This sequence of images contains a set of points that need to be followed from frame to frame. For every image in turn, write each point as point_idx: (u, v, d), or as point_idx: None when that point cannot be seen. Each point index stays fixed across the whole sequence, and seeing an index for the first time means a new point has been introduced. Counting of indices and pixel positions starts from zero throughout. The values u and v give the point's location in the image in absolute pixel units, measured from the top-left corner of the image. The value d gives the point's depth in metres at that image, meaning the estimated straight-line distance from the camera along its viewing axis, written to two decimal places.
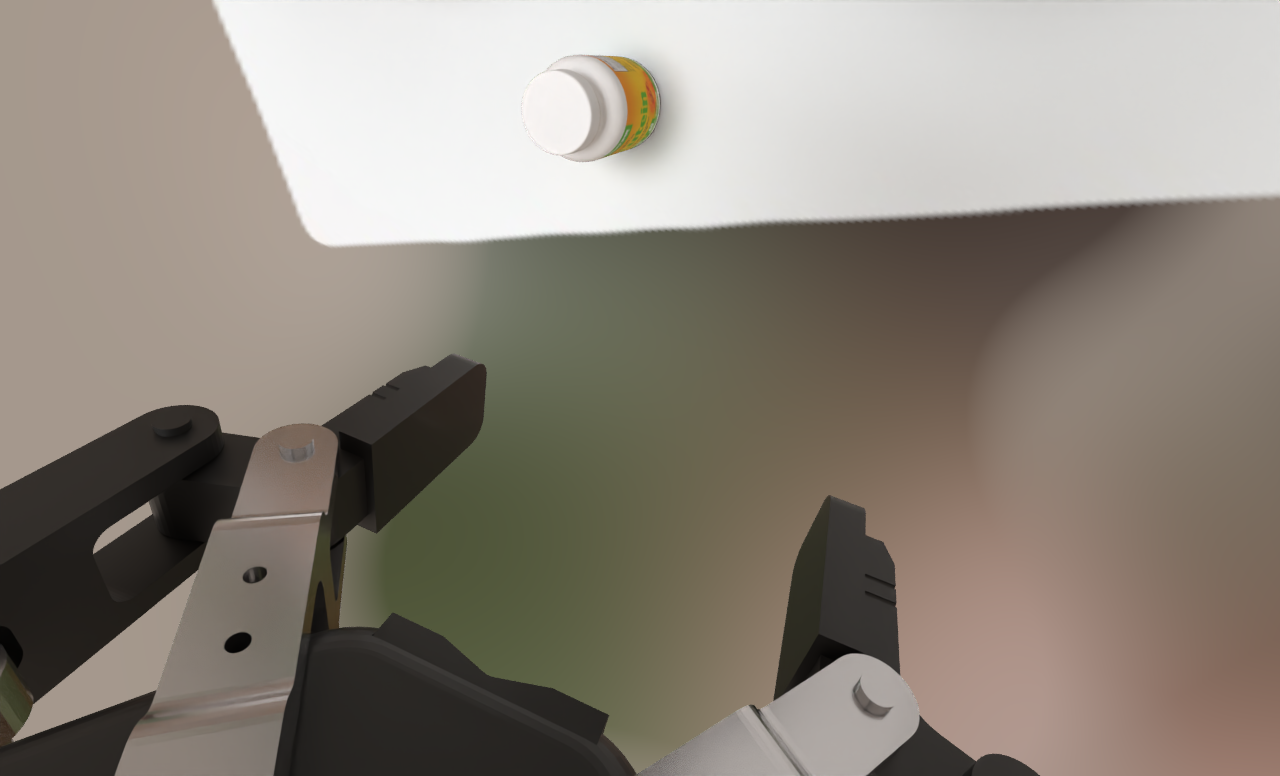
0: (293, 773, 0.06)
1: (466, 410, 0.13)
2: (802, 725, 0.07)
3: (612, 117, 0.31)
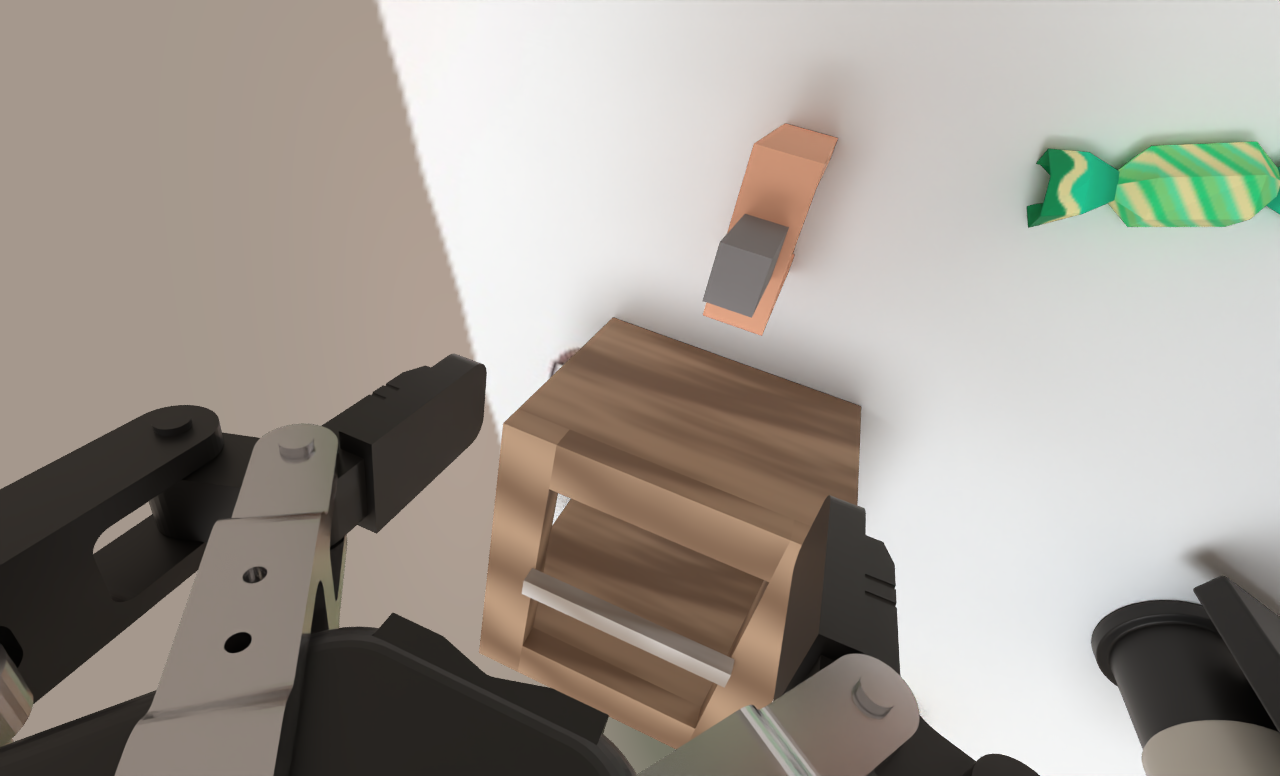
0: (293, 773, 0.06)
1: (466, 409, 0.13)
2: (802, 725, 0.07)
3: None
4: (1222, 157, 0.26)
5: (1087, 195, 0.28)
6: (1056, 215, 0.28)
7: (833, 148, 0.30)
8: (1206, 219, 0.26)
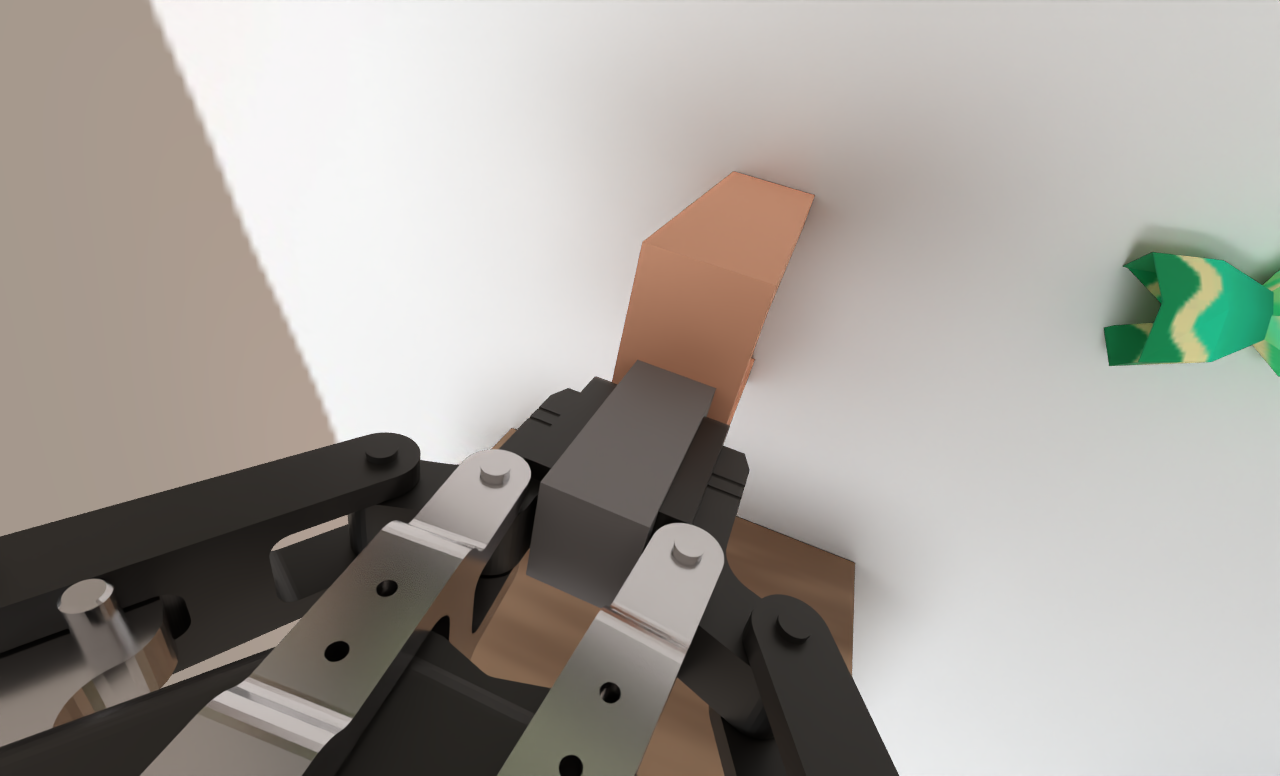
0: None
1: None
2: (646, 601, 0.08)
3: None
4: None
5: (1221, 333, 0.16)
6: (1165, 361, 0.17)
7: (805, 217, 0.19)
8: None
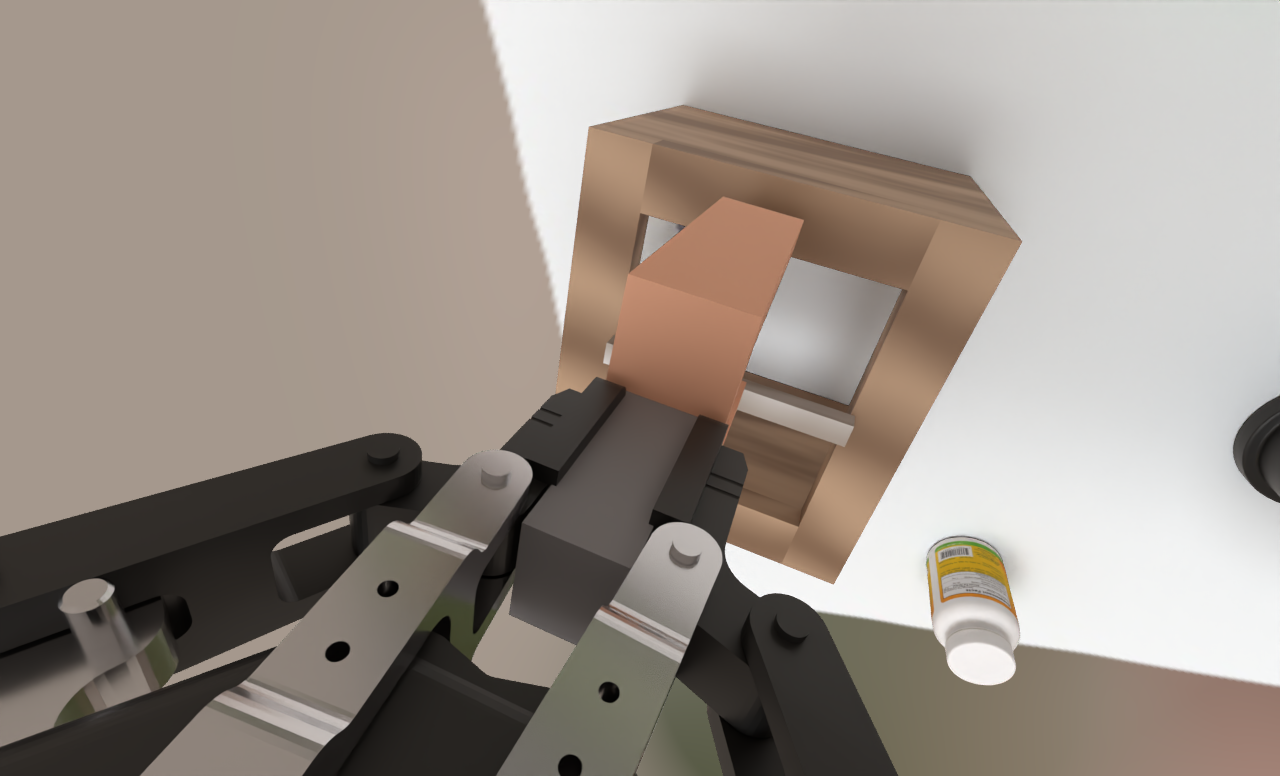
0: None
1: None
2: (644, 600, 0.08)
3: (1012, 648, 0.40)
4: None
5: None
6: None
7: (794, 243, 0.19)
8: None
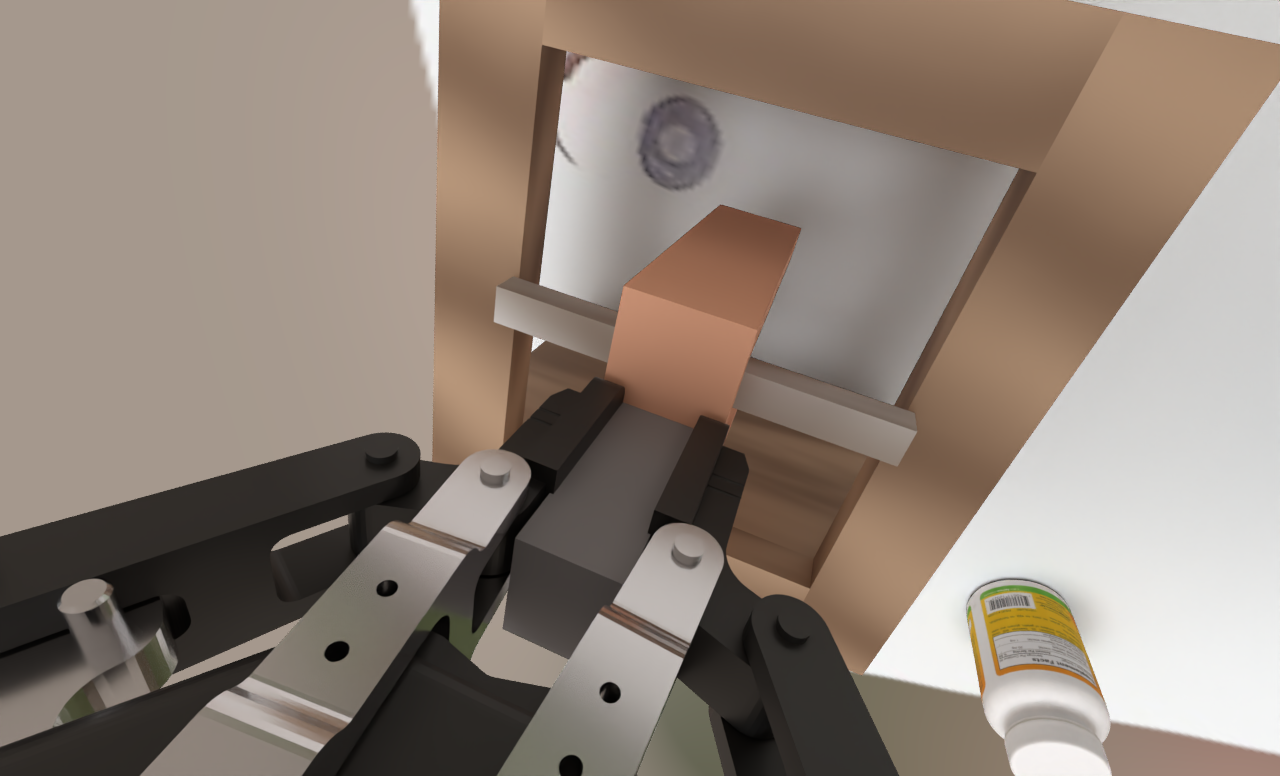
0: None
1: None
2: (646, 601, 0.08)
3: None
4: None
5: None
6: None
7: (792, 251, 0.19)
8: None
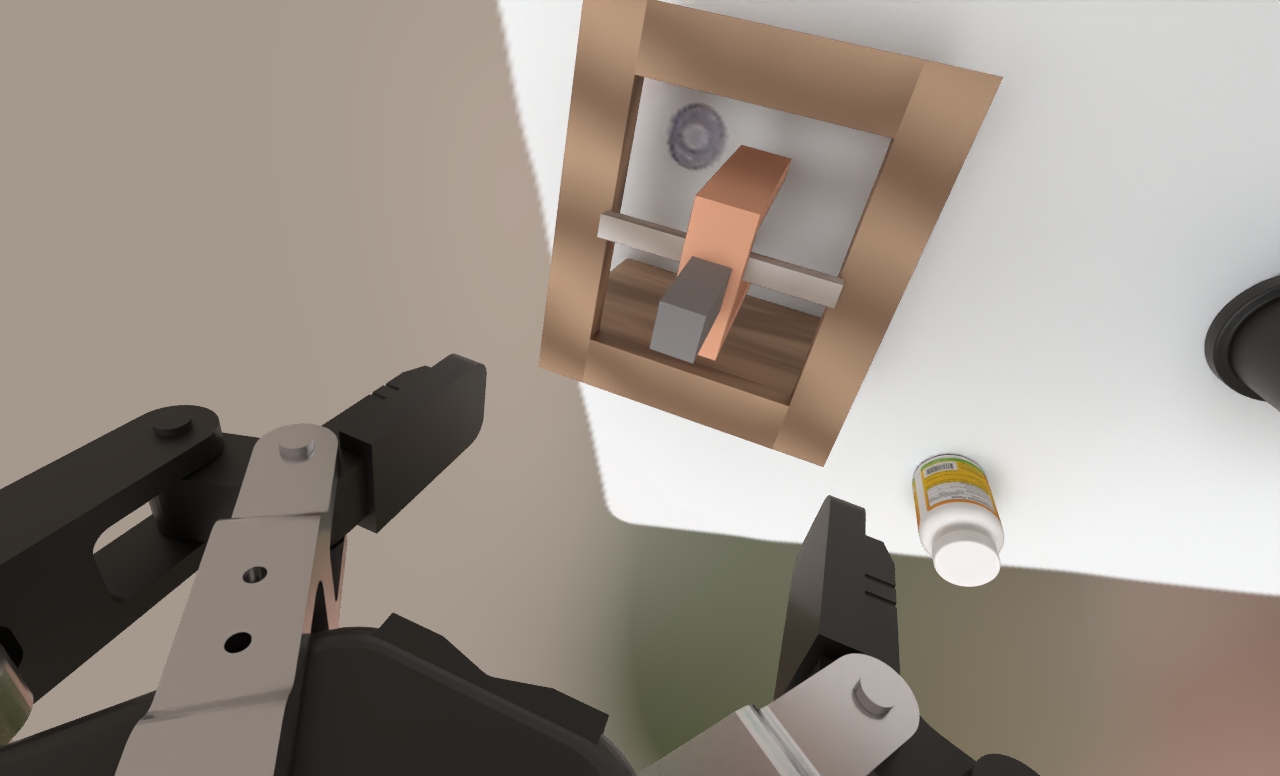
0: (293, 773, 0.06)
1: (466, 410, 0.13)
2: (802, 725, 0.07)
3: None
4: None
5: None
6: None
7: (784, 174, 0.32)
8: None
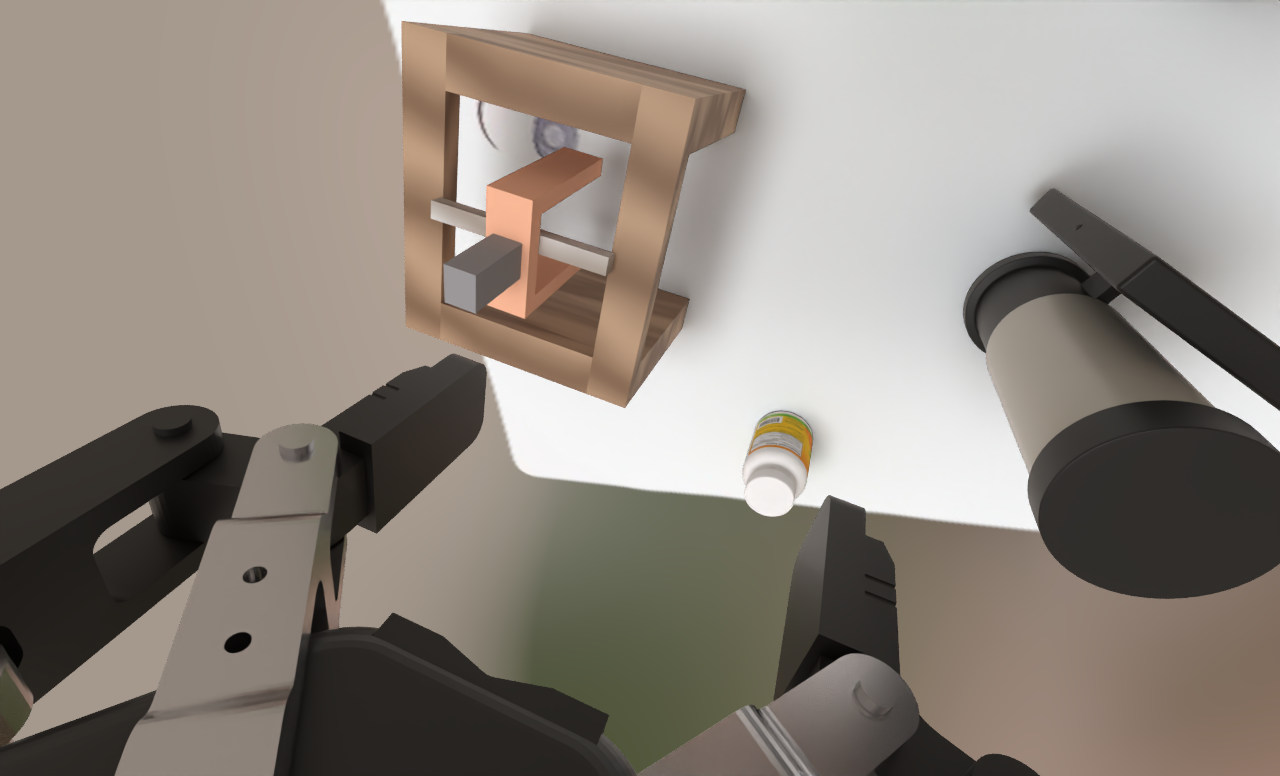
0: (293, 773, 0.06)
1: (466, 410, 0.13)
2: (802, 725, 0.07)
3: (799, 488, 0.49)
4: None
5: None
6: None
7: (588, 171, 0.40)
8: None
